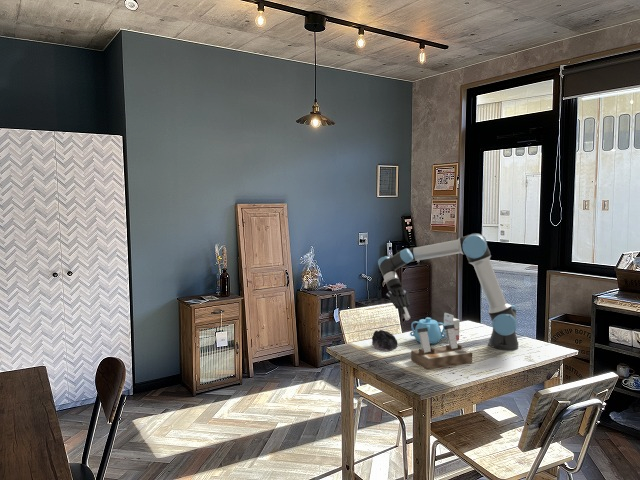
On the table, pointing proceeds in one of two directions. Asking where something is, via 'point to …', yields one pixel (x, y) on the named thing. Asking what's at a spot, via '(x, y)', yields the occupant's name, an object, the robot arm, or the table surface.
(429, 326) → the decorative pot
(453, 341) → the lever
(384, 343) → the black rock
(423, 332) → the lever
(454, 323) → the ink cartridge box
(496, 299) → the robot arm
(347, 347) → the table surface
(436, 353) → the switch unit
